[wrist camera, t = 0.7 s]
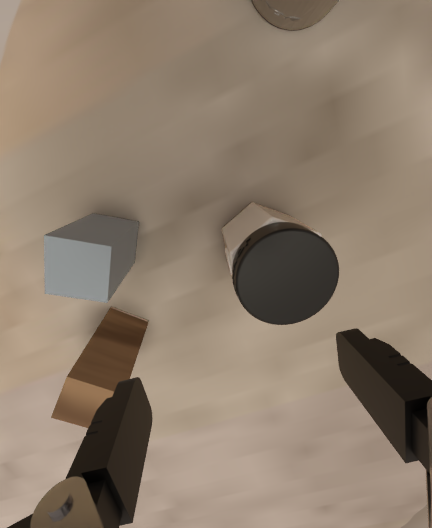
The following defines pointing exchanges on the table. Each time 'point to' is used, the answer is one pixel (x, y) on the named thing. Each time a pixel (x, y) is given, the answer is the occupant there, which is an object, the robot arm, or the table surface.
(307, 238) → the jar
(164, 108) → the table surface
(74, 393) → the walnut block
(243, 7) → the table surface
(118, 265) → the grey block
